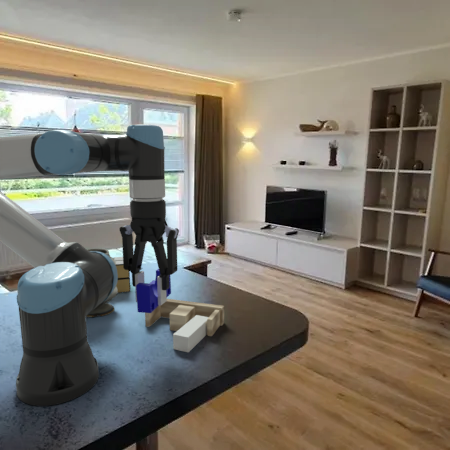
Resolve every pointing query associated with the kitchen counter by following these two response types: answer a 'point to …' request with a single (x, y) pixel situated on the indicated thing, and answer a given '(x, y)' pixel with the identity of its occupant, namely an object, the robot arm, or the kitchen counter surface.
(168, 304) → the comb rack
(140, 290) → the blue stepped long piece
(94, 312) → the apothecary jar
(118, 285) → the puzzle cube
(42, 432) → the kitchen counter surface
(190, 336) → the white rectangular bar
